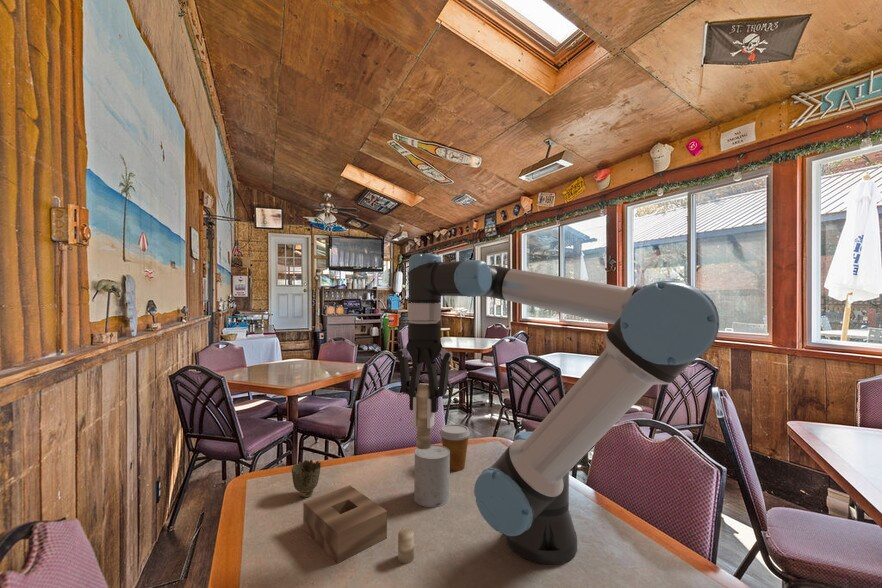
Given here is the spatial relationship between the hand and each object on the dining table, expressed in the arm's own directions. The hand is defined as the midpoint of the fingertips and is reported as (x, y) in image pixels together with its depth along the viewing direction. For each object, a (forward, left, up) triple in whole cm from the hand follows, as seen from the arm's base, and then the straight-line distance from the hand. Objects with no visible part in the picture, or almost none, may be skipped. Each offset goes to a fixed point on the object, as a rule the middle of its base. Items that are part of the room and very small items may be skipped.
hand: (423, 425), depth 87 cm
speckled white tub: (+10, -12, -25) cm, 29 cm away
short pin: (-4, +8, -24) cm, 26 cm away
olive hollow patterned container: (+34, +12, -25) cm, 44 cm away
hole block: (+12, +13, -24) cm, 30 cm away
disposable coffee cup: (+19, -30, -25) cm, 43 cm away
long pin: (0, 0, -5) cm, 5 cm away
